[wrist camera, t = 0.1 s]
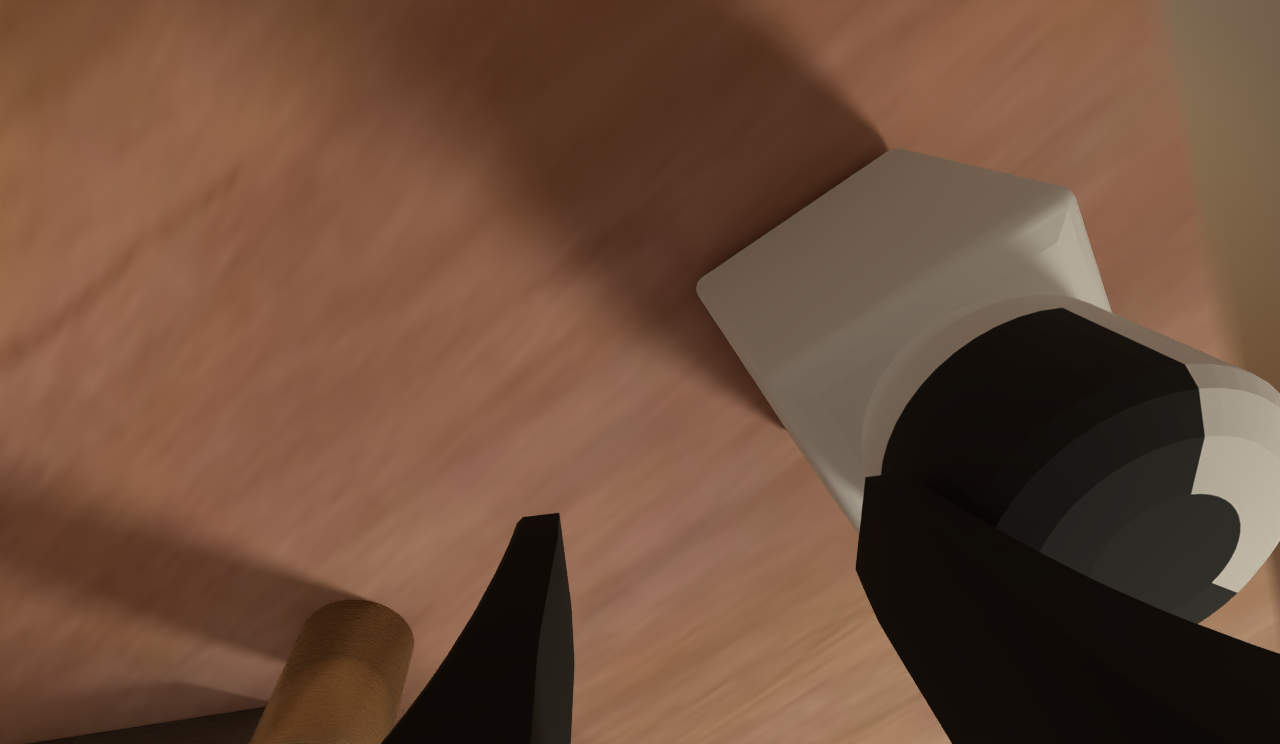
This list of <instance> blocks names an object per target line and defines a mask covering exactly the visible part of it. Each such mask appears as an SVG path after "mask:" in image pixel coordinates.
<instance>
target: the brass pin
mask: <svg viewBox="0 0 1280 744" xmlns="http://www.w3.org/2000/svg"><path fill="white" fill-rule="evenodd" d="M413 648H414V638H413V634H412V631H411V629H410V627H409V626H408V624H407V623H406V622H405V620H404V619H403V618H402V617H401V616H400V615H398V614H397V613H395V612H394V611H392V610H391V609H389V608H387V607H385V606H382V605H379V604H376V603H372V602H367V601H357V600H351V601H342V602H337V603H333V604H330V605H327V606H325V607H323V608H321V609H319V610H318V611H316V612H315V613H314V614H312V615H311V616H310V617H309V618H308V619H307V621H306V622H305V624H304V625H303V628H302V630H301V632H300V634H299V636H298V638H297V641H296V643H295V645H294V647H293V649H292V651H291V654H290V656H289V658H288V660H287V662H286V664H285V667H284V669H283V671H282V673H281V675H280V677H279V680H278V682H277V684H276V686H275V688H274V691H273V693H272V695H271V697H270V699H269V701H268V704H267V706H266V708H265V710H264V712H263V714H262V717H261V719H260V721H259V723H258V725H257V727H256V730H255V732H254V734H253V736H252V738H251V740H250V743H249V744H381V743H382V741H383V740H384V739H385V738H386V736H387V735H388V734H389V733H390V732H391V730H392V729H393V728H394V725H395V721H396V717H397V713H398V709H399V705H400V701H401V697H402V693H403V689H404V685H405V681H406V677H407V673H408V669H409V665H410V661H411V657H412V653H413Z"/></svg>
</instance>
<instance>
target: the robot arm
mask: <svg viewBox="0 0 1280 744" xmlns="http://www.w3.org/2000/svg"><path fill="white" fill-rule="evenodd" d="M856 571H857V574H858V576H859V578H860V581H861V583H862V585H863V588H864V590H865V593H866V595H867V597H868V600H869V602H870V604H871V606H872V608H873V610H874V613H875V615H876V617H877V619H878V621H879V623H880V625H881V627H882V628H883V630H884V632H885V633H886V635H887V637H888V638H889V640H890V642H891V644H892V645H893V647H894V649H895V650H896V652H897V654H898V655H899V657H900V659H901V660H902V662H903V664H904V665H905V667H906V669H907V670H908V672H909V673H910V675H911V677H912V678H913V680H914V682H915V683H916V685H917V687H918V688H919V690H920V692H921V693H922V695H923V696H924V698H925V700H926V701H927V703H928V705H929V706H930V708H931V710H932V711H933V713H934V715H935V716H936V718H937V719H938V721H939V723H940V724H941V726H942V728H943V729H944V731H945V733H946V734H947V736H948V738H949V739H950V741H951V743H952V744H1280V654H1279V653H1276V652H1273V651H1270V650H1267V649H1264V648H1261V647H1258V646H1255V645H1252V644H1249V643H1247V642H1244V641H1241V640H1239V639H1236V638H1233V637H1231V636H1228V635H1225V634H1223V633H1220V632H1217V631H1214V630H1212V629H1209V628H1206V627H1204V626H1201V625H1198V624H1196V623H1193V622H1191V621H1188V620H1186V619H1183V618H1181V617H1178V616H1176V615H1173V614H1171V613H1168V612H1166V611H1163V610H1161V609H1158V608H1156V607H1154V606H1152V605H1149V604H1147V603H1145V602H1142V601H1140V600H1138V599H1136V598H1133V597H1131V596H1129V595H1127V594H1124V593H1122V592H1120V591H1117V590H1115V589H1113V588H1111V587H1108V586H1106V585H1104V584H1102V583H1100V582H1098V581H1096V580H1094V579H1091V578H1089V577H1087V576H1085V575H1083V574H1081V573H1079V572H1077V571H1075V570H1073V569H1071V568H1069V567H1067V566H1065V565H1063V564H1061V563H1060V562H1058V561H1056V560H1054V559H1052V558H1050V557H1048V556H1046V555H1044V554H1042V553H1040V552H1038V551H1036V550H1034V549H1033V548H1031V547H1029V546H1027V545H1025V544H1023V543H1022V542H1020V541H1018V540H1016V539H1014V538H1012V537H1011V536H1009V535H1007V534H1005V533H1004V532H1002V531H1000V530H998V529H996V528H995V527H993V526H991V525H989V524H988V523H986V522H984V521H982V520H981V519H979V518H977V517H976V516H974V515H972V514H970V513H969V512H967V511H965V510H964V509H962V508H960V507H958V506H957V505H955V504H953V503H952V502H950V501H948V500H947V499H945V498H943V497H941V496H940V495H938V494H936V493H934V492H933V491H931V490H929V489H928V488H926V487H924V486H922V485H920V484H919V483H917V482H915V481H913V480H911V479H910V478H908V477H906V476H904V475H902V474H900V473H896V474H887V475H878V476H870V477H865V484H864V494H863V503H862V513H861V522H860V532H859V541H858V551H857V560H856ZM573 684H574V645H573V627H572V609H571V600H570V592H569V584H568V577H567V569H566V561H565V554H564V546H563V538H562V530H561V523H560V515H559V513H554V514H546V515H537V516H529V517H523V518H522V519H521V520H520V521H519V522H518V523H517V525H516V528H515V530H514V533H513V536H512V538H511V540H510V543H509V545H508V547H507V550H506V552H505V554H504V556H503V558H502V560H501V562H500V564H499V566H498V569H497V571H496V573H495V575H494V577H493V578H492V580H491V582H490V584H489V586H488V588H487V590H486V591H485V593H484V595H483V597H482V599H481V601H480V602H479V604H478V606H477V608H476V610H475V611H474V613H473V615H472V617H471V618H470V620H469V621H468V623H467V625H466V626H465V628H464V629H463V631H462V633H461V634H460V636H459V637H458V639H457V641H456V642H455V644H454V645H453V647H452V649H451V650H450V652H449V653H448V655H447V656H446V658H445V659H444V661H443V662H442V664H441V665H440V667H439V668H438V670H437V671H436V673H435V674H434V675H433V677H432V678H431V680H430V681H429V682H428V684H427V685H426V687H425V688H424V689H423V691H422V692H421V693H420V695H419V696H418V697H417V699H416V700H415V701H414V703H413V704H412V705H411V707H410V708H409V709H408V711H407V712H406V713H405V714H404V716H403V717H402V718H401V719H400V721H399V722H398V723H397V724H396V725H395V727H394V728H393V729H392V730H391V732H390V733H389V734H388V735H387V736H386V738H385V739H384V740H383V741H382V743H381V744H571V725H572V705H573Z"/></svg>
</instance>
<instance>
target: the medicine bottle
mask: <svg viewBox="0 0 1280 744" xmlns="http://www.w3.org/2000/svg"><path fill="white" fill-rule="evenodd" d="M696 291H697V294H698V296H699V298H700V299H701V301H702V302H703V304H704V305H705V307H706V308H707V310H708V311H709V313H710V314H711V316H712V318H713V319H714V321H715V322H716V324H717V325H718V327H719V328H720V330H721V331H722V333H723V334H724V336H725V337H726V339H727V340H728V342H729V343H730V345H731V346H732V348H733V349H734V351H735V352H736V354H737V355H738V357H739V359H740V360H741V362H742V363H743V365H744V366H745V368H746V369H747V371H748V372H749V374H750V375H751V377H752V378H753V380H754V381H755V383H756V384H757V386H758V387H759V389H760V390H761V392H762V393H763V395H764V397H765V398H766V400H767V401H768V403H769V404H770V406H771V407H772V409H773V410H774V412H775V413H776V415H777V416H778V418H779V419H780V421H781V422H782V424H783V425H784V427H785V428H786V430H787V431H788V433H789V434H790V436H791V438H792V439H793V441H794V442H795V443H796V445H797V446H798V448H799V449H800V451H801V452H802V453H803V455H804V456H805V458H806V459H807V461H808V462H809V464H810V465H811V466H812V468H813V469H814V471H815V472H816V474H817V475H818V477H819V478H820V479H821V481H822V482H823V484H824V485H825V487H826V488H827V489H828V491H829V492H830V494H831V495H832V497H833V498H834V500H835V501H836V502H837V504H838V505H839V507H840V508H841V510H842V511H843V513H844V514H845V515H846V517H847V518H848V520H849V521H850V523H851V524H852V525H853V527H854V528H855V530H856V531H857V533H858V534H859V532H860V522H861V513H862V503H863V494H864V484H865V477H870V476H878V475H887V474H896V473H900V474H902V475H904V476H906V477H908V478H910V479H911V480H913V481H915V482H917V483H919V484H920V485H922V486H924V487H926V488H928V489H929V490H931V491H933V492H934V493H936V494H938V495H940V496H941V497H943V498H945V499H947V500H948V501H950V502H952V503H953V504H955V505H957V506H958V507H960V508H962V509H964V510H965V511H967V512H969V513H970V514H972V515H974V516H976V517H977V518H979V519H981V520H982V521H984V522H986V523H988V524H989V525H991V526H993V527H995V528H996V529H998V530H1000V531H1002V532H1004V533H1005V534H1007V535H1009V536H1011V537H1012V538H1014V539H1016V540H1018V541H1020V542H1022V543H1023V544H1025V545H1027V546H1029V547H1031V548H1033V549H1034V550H1036V551H1038V552H1040V553H1042V554H1044V555H1046V556H1048V557H1050V558H1052V559H1054V560H1056V561H1058V562H1060V563H1061V564H1063V565H1065V566H1067V567H1069V568H1071V569H1073V570H1075V571H1077V572H1079V573H1081V574H1083V575H1085V576H1087V577H1089V578H1091V579H1094V580H1096V581H1098V582H1100V583H1102V584H1104V585H1106V586H1108V587H1111V588H1113V589H1115V590H1117V591H1120V592H1122V593H1124V594H1127V595H1129V596H1131V597H1133V598H1136V599H1138V600H1140V601H1142V602H1145V603H1147V604H1149V605H1152V606H1154V607H1156V608H1158V609H1161V610H1163V611H1166V612H1168V613H1171V614H1173V615H1176V616H1178V617H1181V618H1183V619H1186V620H1188V621H1191V622H1193V623H1196V624H1198V623H1200V622H1201V621H1203V620H1204V619H1206V618H1207V617H1209V616H1210V615H1211V614H1213V613H1214V612H1215V611H1217V610H1218V609H1219V608H1221V607H1222V606H1223V605H1224V604H1226V603H1227V602H1228V601H1229V600H1230V599H1231V598H1232V597H1233V596H1235V595H1236V594H1237V593H1238V592H1239V591H1240V590H1241V589H1242V588H1243V587H1244V586H1245V585H1246V584H1247V582H1248V581H1249V580H1250V579H1251V578H1252V577H1253V576H1254V574H1255V573H1256V572H1257V571H1258V570H1259V568H1260V567H1261V566H1262V565H1263V563H1264V562H1265V561H1266V560H1267V558H1268V557H1269V556H1270V554H1271V553H1272V551H1273V550H1274V548H1275V547H1276V545H1277V544H1278V542H1279V541H1280V393H1279V392H1277V391H1276V390H1275V389H1274V388H1273V387H1272V386H1271V385H1270V384H1269V383H1268V382H1266V381H1264V380H1263V379H1261V378H1259V377H1258V376H1255V375H1254V374H1252V373H1250V372H1248V371H1246V370H1243V369H1241V368H1239V367H1236V366H1234V365H1232V364H1229V363H1227V362H1225V361H1222V360H1220V359H1218V358H1215V357H1213V356H1211V355H1208V354H1206V353H1204V352H1202V351H1199V350H1197V349H1195V348H1192V347H1190V346H1188V345H1185V344H1183V343H1181V342H1178V341H1176V340H1174V339H1171V338H1169V337H1167V336H1164V335H1162V334H1160V333H1157V332H1155V331H1153V330H1151V329H1148V328H1146V327H1144V326H1141V325H1139V324H1137V323H1134V322H1132V321H1130V320H1127V319H1125V318H1123V317H1120V316H1118V315H1116V314H1113V313H1112V312H1111V309H1110V306H1109V302H1108V299H1107V296H1106V293H1105V290H1104V286H1103V283H1102V280H1101V277H1100V274H1099V271H1098V267H1097V264H1096V261H1095V258H1094V255H1093V251H1092V248H1091V245H1090V242H1089V239H1088V236H1087V232H1086V229H1085V226H1084V223H1083V220H1082V216H1081V213H1080V210H1079V207H1078V204H1077V201H1076V197H1075V196H1074V194H1073V193H1072V192H1071V191H1070V190H1069V189H1068V188H1066V187H1063V186H1058V185H1054V184H1050V183H1045V182H1041V181H1037V180H1033V179H1028V178H1024V177H1020V176H1015V175H1011V174H1007V173H1003V172H998V171H994V170H990V169H986V168H981V167H977V166H973V165H968V164H964V163H960V162H956V161H951V160H947V159H943V158H938V157H934V156H930V155H926V154H921V153H917V152H913V151H909V150H904V149H900V148H895V149H892V150H889V151H887V152H886V153H884V154H883V155H881V156H880V157H878V158H877V159H875V160H874V161H872V162H871V163H869V164H868V165H866V166H865V167H863V168H862V169H861V170H859V171H858V172H856V173H855V174H853V175H852V176H850V177H849V178H847V179H846V180H844V181H843V182H841V183H840V184H838V185H837V186H836V187H834V188H833V189H831V190H830V191H828V192H827V193H825V194H824V195H822V196H821V197H819V198H818V199H816V200H815V201H813V202H812V203H811V204H809V205H808V206H806V207H805V208H803V209H802V210H800V211H799V212H797V213H796V214H794V215H793V216H791V217H790V218H788V219H787V220H786V221H784V222H783V223H781V224H780V225H778V226H777V227H775V228H774V229H772V230H771V231H769V232H768V233H766V234H765V235H763V236H762V237H761V238H759V239H758V240H756V241H755V242H753V243H752V244H750V245H749V246H747V247H746V248H744V249H743V250H741V251H740V252H738V253H737V254H736V255H734V256H733V257H731V258H730V259H728V260H727V261H725V262H724V263H722V264H721V265H719V266H718V267H716V268H715V269H713V270H712V271H711V272H709V273H708V274H706V275H705V276H703V277H702V278H701V279H700V280H699V281H698V282H697V286H696Z"/></svg>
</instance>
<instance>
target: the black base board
mask: <svg viewBox="0 0 1280 744" xmlns="http://www.w3.org/2000/svg"><path fill="white" fill-rule="evenodd" d="M264 710H265V708H260V709H254V710H247V711H241V712H234V713H228V714H221V715H215V716H209V717H202V718H196V719H189V720H183V721H176V722H170V723H163V724H157V725H150V726H144V727H137V728H131V729H124V730H118V731H111V732H105V733H99V734H92V735H86V736H79V737H73V738H66V739H60V740H53V741H47V742H40V743H34V744H249V743H250V740H251V738H252V736H253V734H254V732H255V730H256V727H257V725H258V723H259V721H260V719H261V717H262V714H263V712H264Z"/></svg>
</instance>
